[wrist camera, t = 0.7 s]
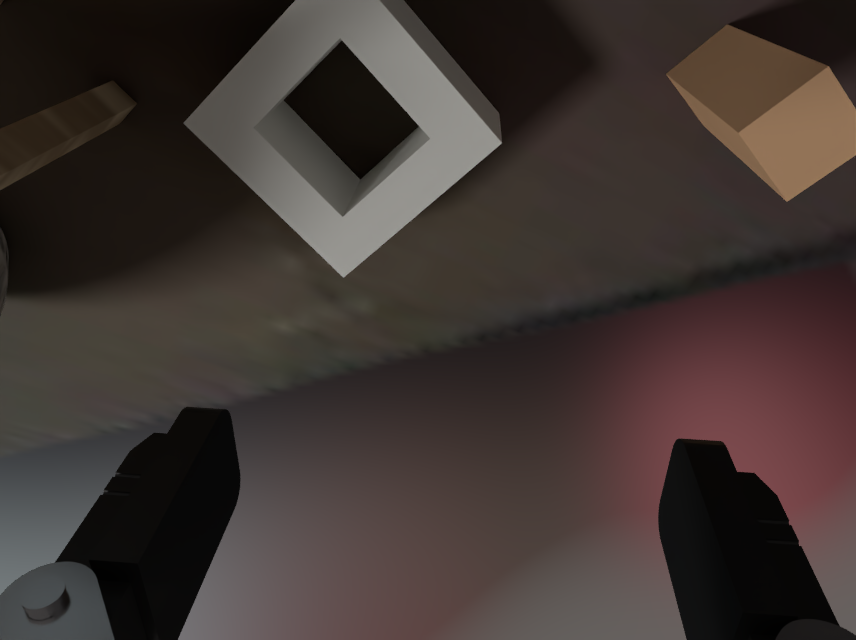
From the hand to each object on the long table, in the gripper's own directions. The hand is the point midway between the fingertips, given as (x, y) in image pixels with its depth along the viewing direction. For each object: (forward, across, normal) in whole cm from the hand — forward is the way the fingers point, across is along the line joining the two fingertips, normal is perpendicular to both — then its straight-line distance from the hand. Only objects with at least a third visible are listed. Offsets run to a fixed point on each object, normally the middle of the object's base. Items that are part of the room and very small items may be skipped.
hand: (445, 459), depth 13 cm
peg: (+23, -10, -2) cm, 25 cm away
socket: (+23, +5, -1) cm, 23 cm away
